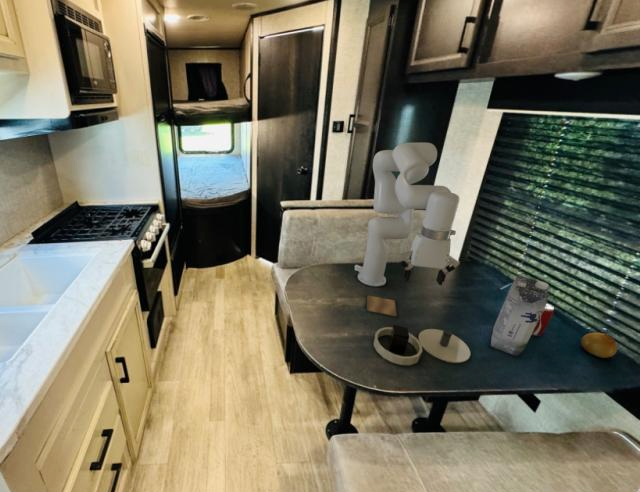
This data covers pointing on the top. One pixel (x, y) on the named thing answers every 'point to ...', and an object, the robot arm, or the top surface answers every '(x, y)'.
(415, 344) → the cream hollow ring
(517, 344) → the juice carton
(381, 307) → the trivet
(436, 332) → the lid
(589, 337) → the fruit
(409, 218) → the robot arm
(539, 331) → the soda can
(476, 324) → the top surface
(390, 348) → the block
